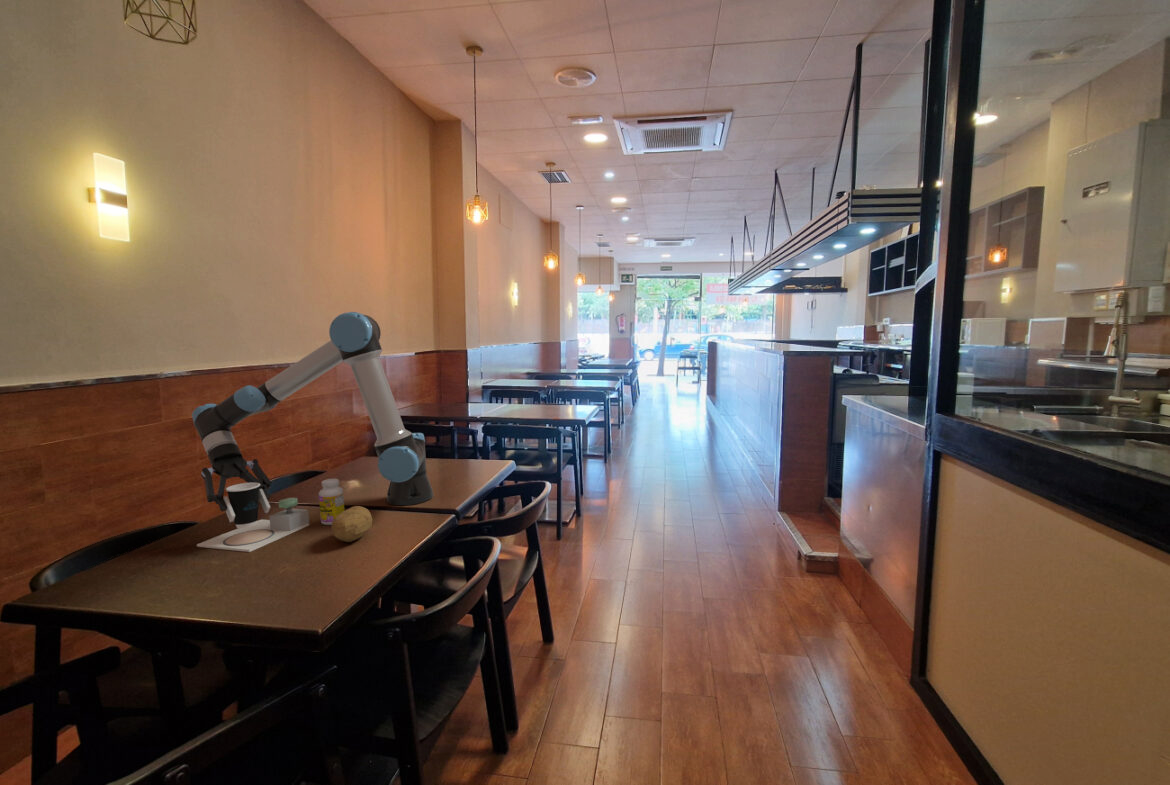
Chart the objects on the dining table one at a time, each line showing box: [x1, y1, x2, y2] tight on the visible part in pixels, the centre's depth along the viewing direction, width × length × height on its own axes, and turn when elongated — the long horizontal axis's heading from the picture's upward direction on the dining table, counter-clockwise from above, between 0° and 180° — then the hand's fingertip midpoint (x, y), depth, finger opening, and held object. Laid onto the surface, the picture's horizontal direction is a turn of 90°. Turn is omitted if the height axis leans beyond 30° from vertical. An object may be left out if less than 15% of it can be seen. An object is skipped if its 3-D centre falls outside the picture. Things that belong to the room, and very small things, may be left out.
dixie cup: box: [225, 482, 260, 529], centre depth 140 cm, size 8×8×11 cm
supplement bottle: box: [318, 478, 346, 526], centre depth 153 cm, size 7×7×13 cm
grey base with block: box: [196, 508, 310, 553], centre depth 144 cm, size 18×20×5 cm
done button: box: [278, 497, 298, 514], centre depth 149 cm, size 5×5×6 cm
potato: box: [330, 505, 373, 543], centre depth 139 cm, size 10×14×8 cm
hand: (250, 514), depth 138 cm, fingers closed on dixie cup, 8 cm apart
